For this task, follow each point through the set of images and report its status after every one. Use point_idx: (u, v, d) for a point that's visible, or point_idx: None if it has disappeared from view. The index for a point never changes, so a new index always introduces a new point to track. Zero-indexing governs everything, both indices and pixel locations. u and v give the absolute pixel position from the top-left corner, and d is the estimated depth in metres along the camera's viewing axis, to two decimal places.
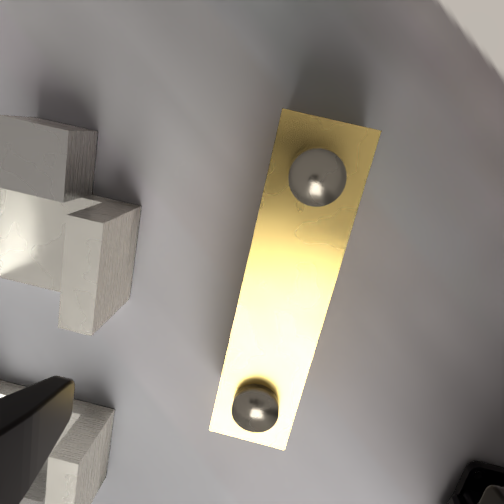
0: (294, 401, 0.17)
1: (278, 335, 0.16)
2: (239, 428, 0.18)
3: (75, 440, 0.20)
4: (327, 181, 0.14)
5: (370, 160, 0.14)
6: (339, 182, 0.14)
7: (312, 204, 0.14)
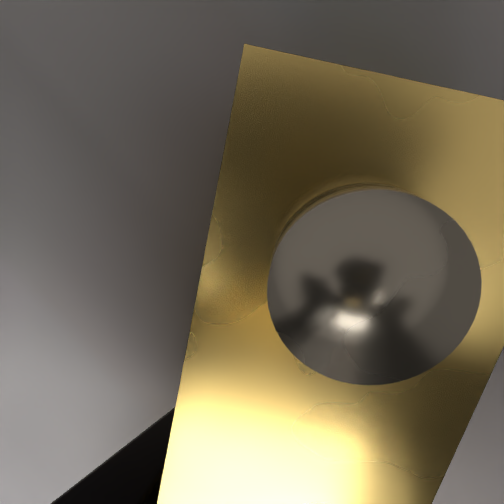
0: None
1: None
2: None
3: None
4: (406, 306, 0.04)
5: None
6: (451, 311, 0.04)
7: (351, 378, 0.04)
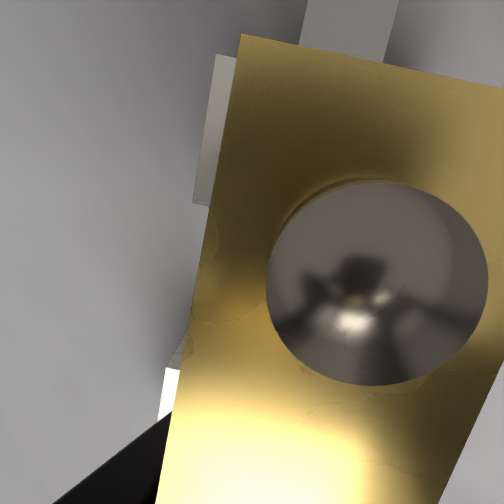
0: None
1: None
2: None
3: None
4: (410, 304, 0.04)
5: None
6: (457, 309, 0.04)
7: (353, 379, 0.04)
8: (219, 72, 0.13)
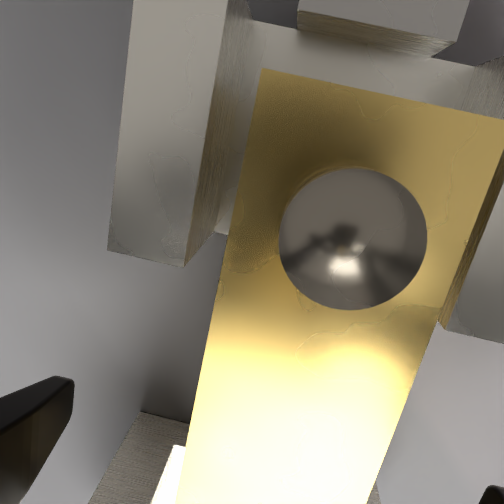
0: None
1: None
2: None
3: None
4: (377, 251, 0.05)
5: (480, 195, 0.06)
6: (407, 254, 0.05)
7: (338, 305, 0.06)
8: None
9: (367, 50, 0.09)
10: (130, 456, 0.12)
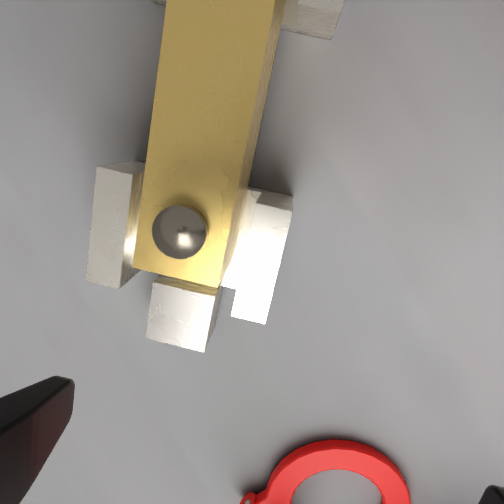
0: (225, 223, 0.15)
1: (201, 138, 0.14)
2: (165, 262, 0.16)
3: (273, 201, 0.17)
4: None
5: None
6: None
7: None
8: None
9: None
10: (128, 165, 0.18)
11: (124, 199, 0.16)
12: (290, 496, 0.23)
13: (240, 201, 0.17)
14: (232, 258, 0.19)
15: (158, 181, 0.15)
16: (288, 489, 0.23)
